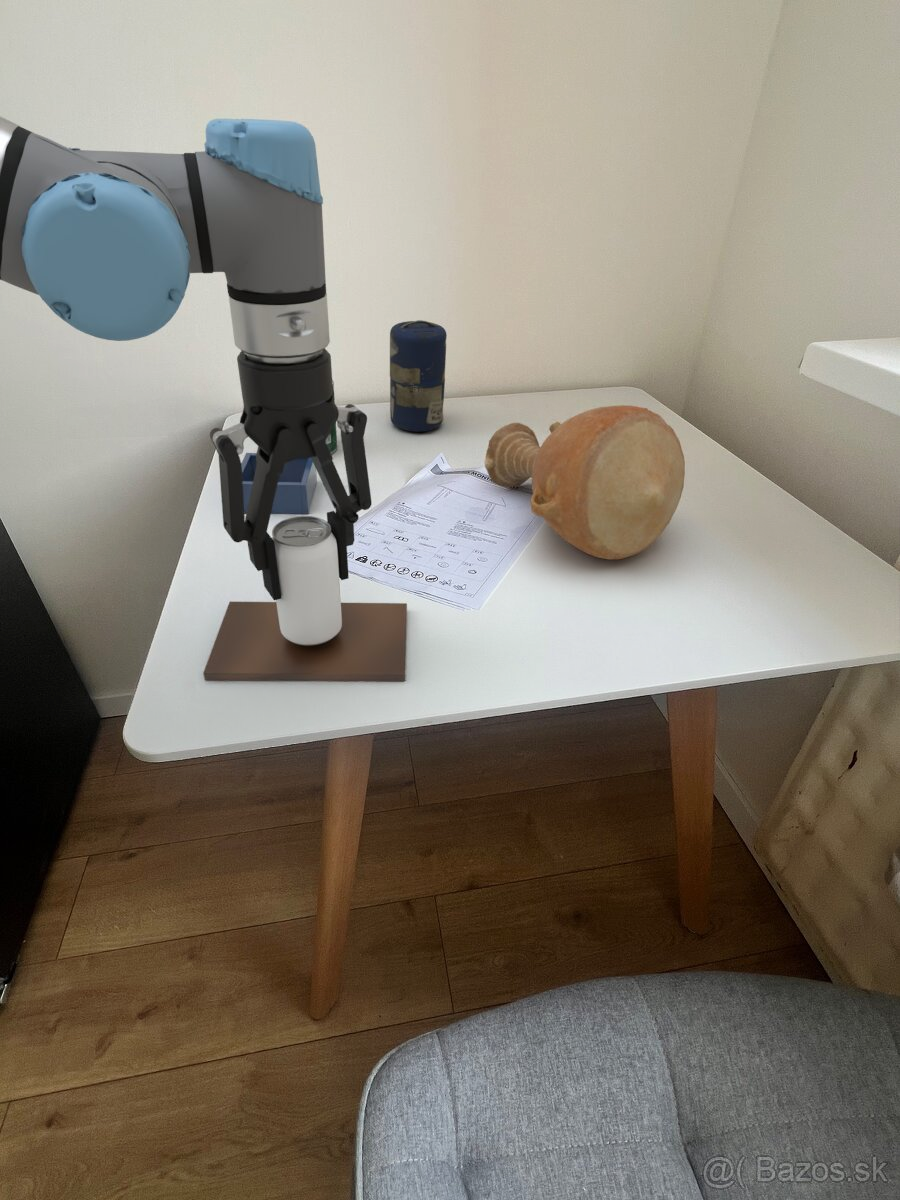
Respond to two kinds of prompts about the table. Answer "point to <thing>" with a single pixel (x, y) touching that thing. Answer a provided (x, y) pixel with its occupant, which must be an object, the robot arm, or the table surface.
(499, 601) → the table surface
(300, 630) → the can
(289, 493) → the holder
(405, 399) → the canister
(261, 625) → the board
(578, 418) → the jug
